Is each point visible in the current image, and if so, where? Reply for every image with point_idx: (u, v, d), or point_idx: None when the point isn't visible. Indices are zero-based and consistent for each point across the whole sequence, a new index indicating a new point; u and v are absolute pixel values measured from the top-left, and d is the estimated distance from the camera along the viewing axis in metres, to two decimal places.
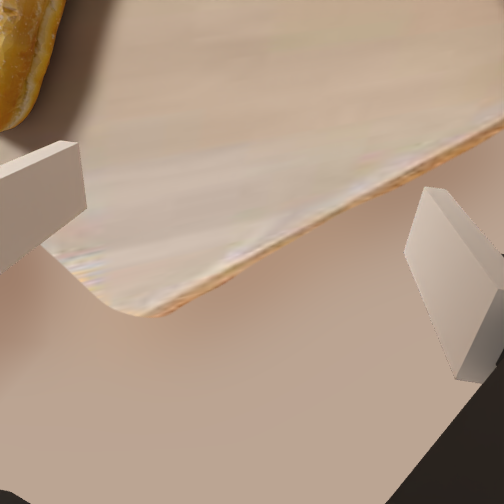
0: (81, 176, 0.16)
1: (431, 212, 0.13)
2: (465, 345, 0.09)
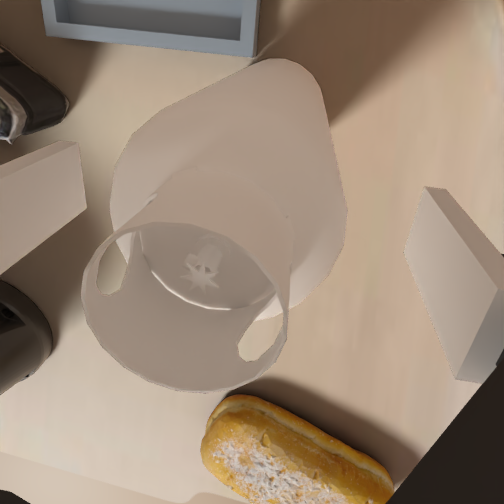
0: (81, 175, 0.16)
1: (431, 212, 0.13)
2: (465, 345, 0.09)
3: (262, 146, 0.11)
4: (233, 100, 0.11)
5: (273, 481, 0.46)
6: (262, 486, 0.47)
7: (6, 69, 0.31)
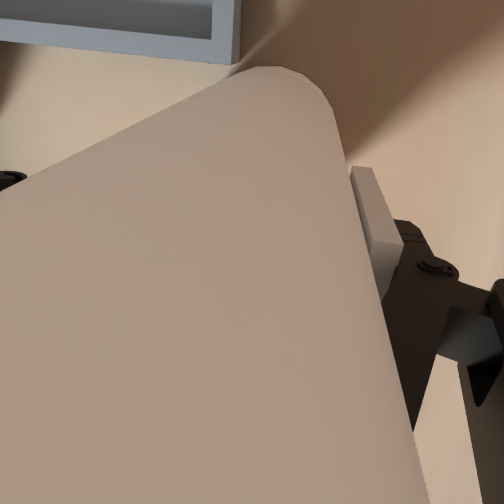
0: None
1: (353, 187, 0.14)
2: None
3: None
4: None
5: None
6: None
7: None
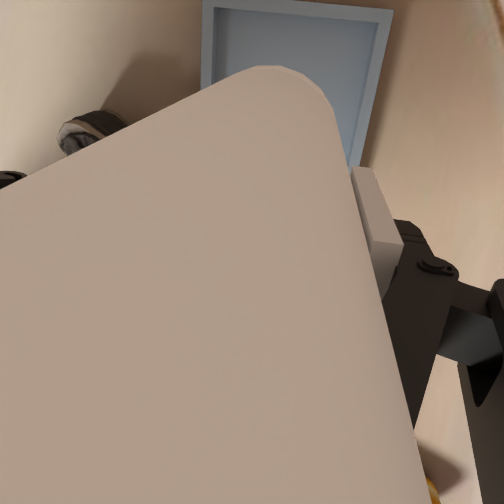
0: None
1: (353, 187, 0.14)
2: None
3: None
4: None
5: None
6: None
7: None
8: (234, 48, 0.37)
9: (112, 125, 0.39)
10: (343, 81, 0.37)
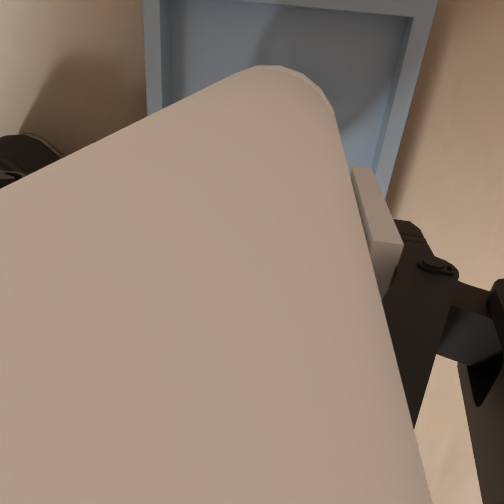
0: None
1: (353, 187, 0.14)
2: None
3: None
4: None
5: None
6: None
7: None
8: (196, 55, 0.25)
9: (27, 157, 0.27)
10: (355, 104, 0.25)
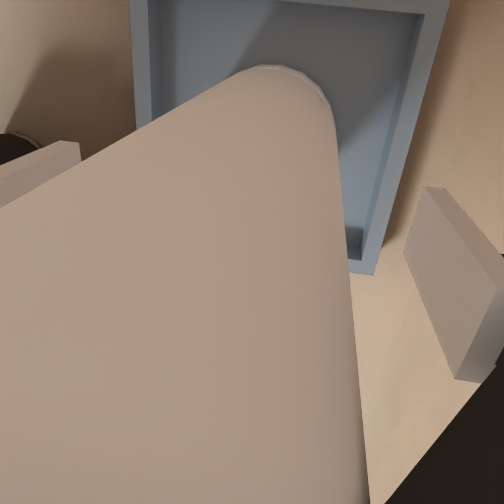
0: None
1: (431, 212, 0.13)
2: (464, 345, 0.09)
3: None
4: None
5: None
6: None
7: None
8: (188, 56, 0.23)
9: (12, 158, 0.25)
10: (360, 108, 0.23)
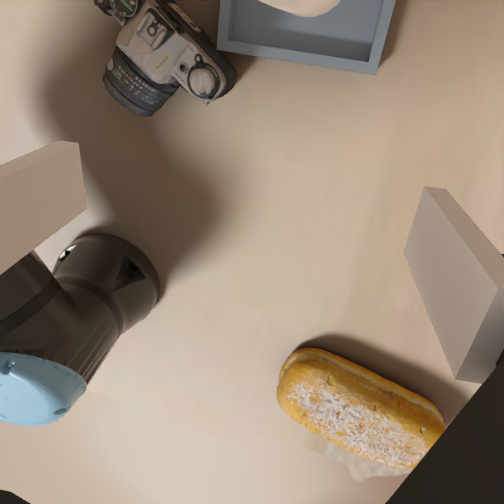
0: (81, 175, 0.16)
1: (431, 212, 0.13)
2: (465, 345, 0.09)
3: None
4: None
5: (339, 415, 0.56)
6: (331, 420, 0.57)
7: (207, 45, 0.38)
8: None
9: None
10: None
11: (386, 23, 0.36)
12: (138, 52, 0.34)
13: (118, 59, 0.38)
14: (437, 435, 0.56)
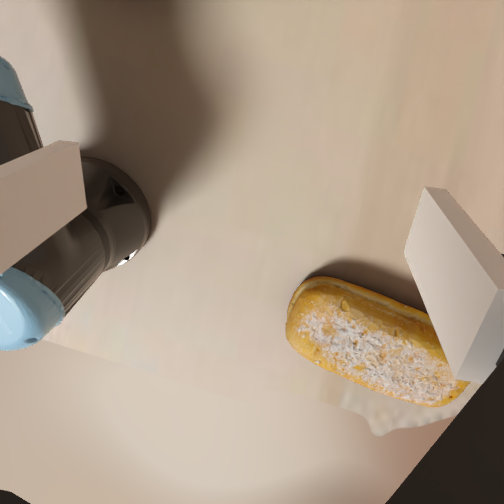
0: (81, 175, 0.16)
1: (431, 212, 0.13)
2: (465, 345, 0.09)
3: None
4: None
5: (357, 345, 0.50)
6: (347, 352, 0.51)
7: None
8: None
9: None
10: None
11: None
12: None
13: None
14: None
